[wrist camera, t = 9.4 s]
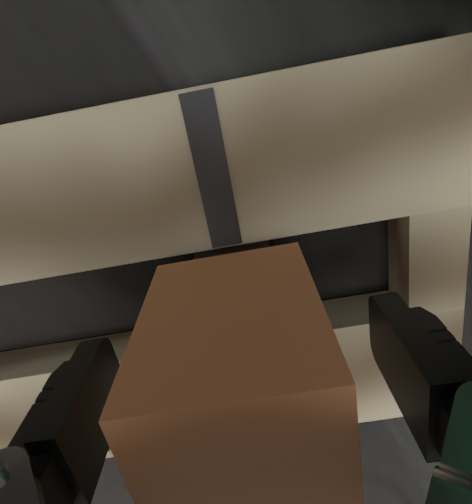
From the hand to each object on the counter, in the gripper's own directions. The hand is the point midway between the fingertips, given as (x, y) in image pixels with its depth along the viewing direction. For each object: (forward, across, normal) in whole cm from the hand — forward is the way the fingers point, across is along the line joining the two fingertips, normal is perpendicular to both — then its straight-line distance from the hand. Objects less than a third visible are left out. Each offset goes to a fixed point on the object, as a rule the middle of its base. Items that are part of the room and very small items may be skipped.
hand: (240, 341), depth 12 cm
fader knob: (+5, 0, 0) cm, 5 cm away
